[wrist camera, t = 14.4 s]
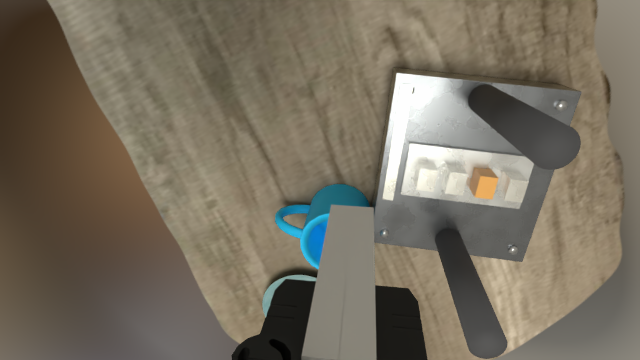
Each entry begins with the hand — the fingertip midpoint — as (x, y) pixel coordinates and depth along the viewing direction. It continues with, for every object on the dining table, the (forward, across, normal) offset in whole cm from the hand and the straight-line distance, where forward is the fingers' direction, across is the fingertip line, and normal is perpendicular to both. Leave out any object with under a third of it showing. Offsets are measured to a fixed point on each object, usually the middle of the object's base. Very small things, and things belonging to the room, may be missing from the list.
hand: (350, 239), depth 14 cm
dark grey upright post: (+28, +11, -17) cm, 35 cm away
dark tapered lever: (+29, +12, -1) cm, 31 cm away
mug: (+33, -4, -17) cm, 38 cm away
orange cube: (+28, +13, -9) cm, 32 cm away
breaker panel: (+33, +12, -9) cm, 36 cm away
